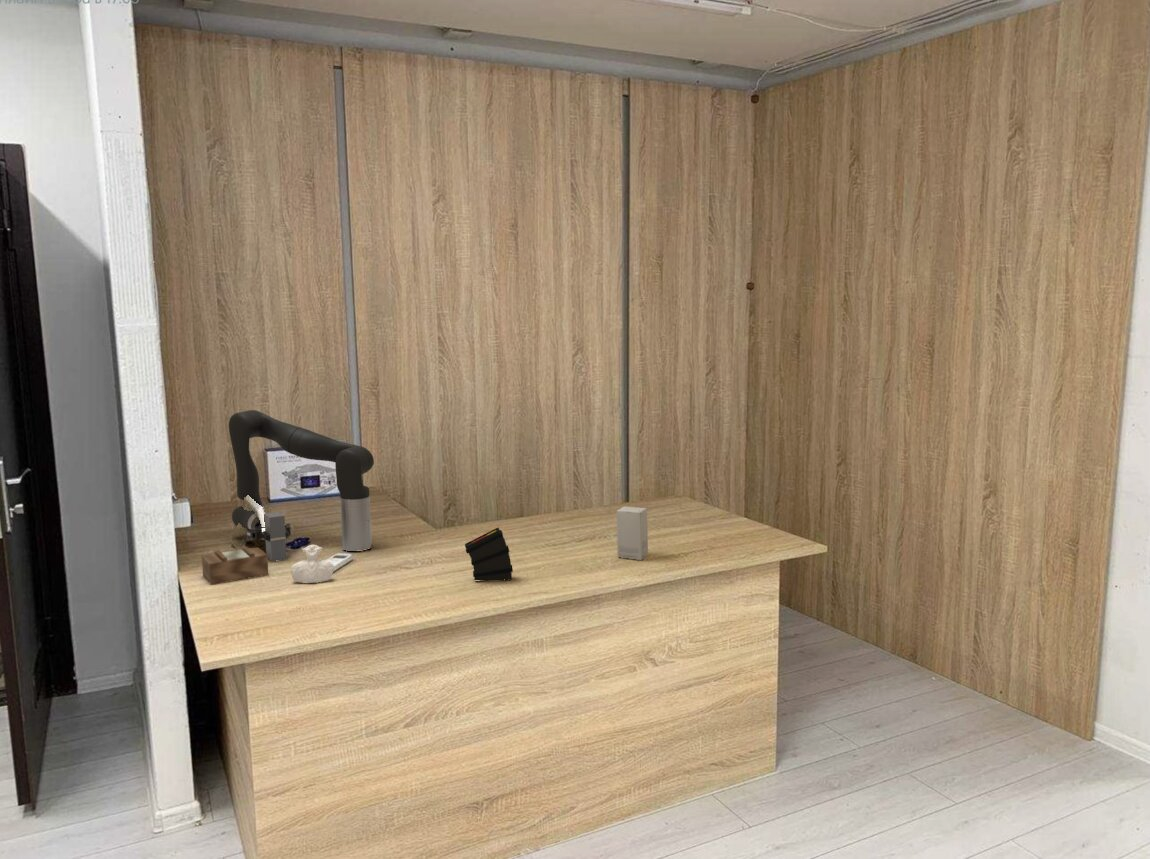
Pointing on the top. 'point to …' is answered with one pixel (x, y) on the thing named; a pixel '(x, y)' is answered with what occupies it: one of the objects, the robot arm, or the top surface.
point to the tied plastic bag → (312, 567)
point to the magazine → (490, 556)
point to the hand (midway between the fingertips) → (277, 536)
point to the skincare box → (632, 533)
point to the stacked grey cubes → (275, 536)
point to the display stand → (234, 565)
